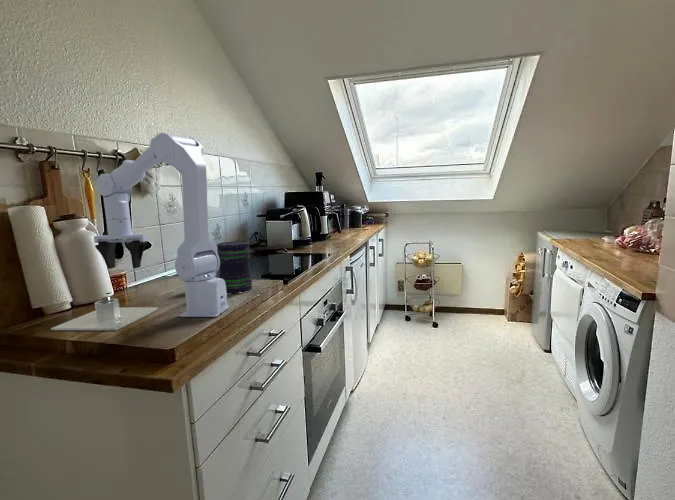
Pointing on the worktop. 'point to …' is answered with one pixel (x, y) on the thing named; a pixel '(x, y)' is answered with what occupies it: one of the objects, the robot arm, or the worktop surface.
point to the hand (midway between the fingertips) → (124, 267)
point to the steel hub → (107, 309)
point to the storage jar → (235, 266)
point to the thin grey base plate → (93, 324)
